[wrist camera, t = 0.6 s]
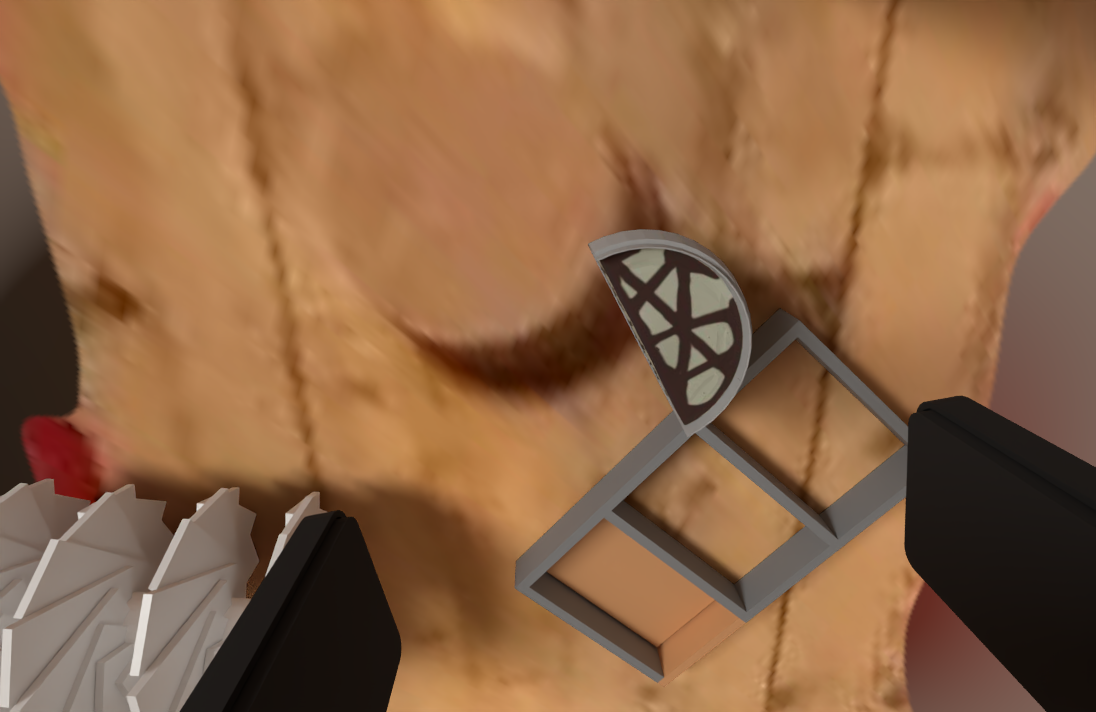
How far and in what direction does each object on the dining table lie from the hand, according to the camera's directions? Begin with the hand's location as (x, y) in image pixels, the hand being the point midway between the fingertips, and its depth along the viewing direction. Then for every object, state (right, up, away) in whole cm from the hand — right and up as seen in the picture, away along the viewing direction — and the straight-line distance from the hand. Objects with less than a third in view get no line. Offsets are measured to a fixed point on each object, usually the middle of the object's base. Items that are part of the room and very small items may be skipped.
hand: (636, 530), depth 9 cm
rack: (+12, -9, +35) cm, 38 cm away
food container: (+6, +8, +29) cm, 30 cm away
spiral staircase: (-28, -12, +35) cm, 46 cm away
